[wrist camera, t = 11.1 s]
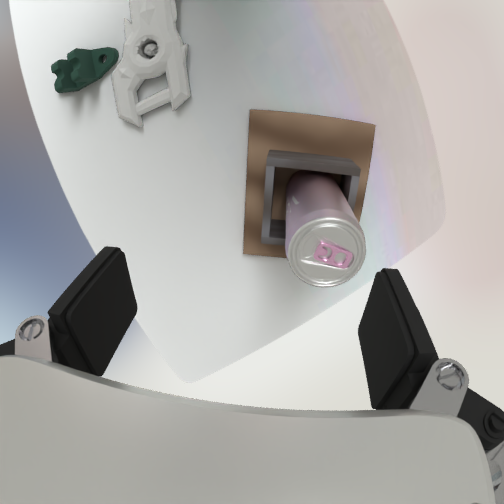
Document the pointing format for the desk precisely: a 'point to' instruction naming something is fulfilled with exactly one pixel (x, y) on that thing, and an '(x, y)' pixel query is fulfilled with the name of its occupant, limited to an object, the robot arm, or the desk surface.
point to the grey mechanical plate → (150, 60)
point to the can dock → (298, 168)
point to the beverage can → (321, 231)
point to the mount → (82, 68)
